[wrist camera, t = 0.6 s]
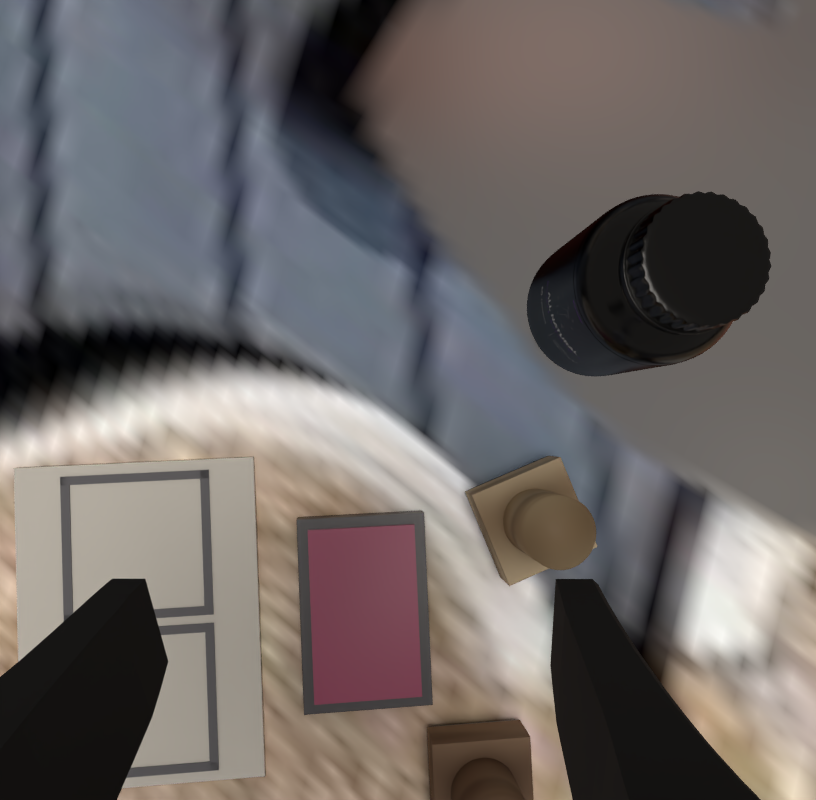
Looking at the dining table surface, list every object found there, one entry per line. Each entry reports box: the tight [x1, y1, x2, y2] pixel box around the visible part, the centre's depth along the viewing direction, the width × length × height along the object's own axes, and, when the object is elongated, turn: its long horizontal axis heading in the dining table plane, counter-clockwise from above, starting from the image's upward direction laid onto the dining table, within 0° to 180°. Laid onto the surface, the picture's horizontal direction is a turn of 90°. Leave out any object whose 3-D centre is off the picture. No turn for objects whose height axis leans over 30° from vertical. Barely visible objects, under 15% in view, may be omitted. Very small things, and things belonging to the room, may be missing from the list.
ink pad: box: [297, 511, 433, 715], centre depth 35 cm, size 9×6×1 cm, turn 2°
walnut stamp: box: [427, 720, 533, 800], centre depth 33 cm, size 4×4×6 cm
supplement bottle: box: [527, 192, 771, 376], centre depth 31 cm, size 7×7×12 cm
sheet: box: [14, 457, 265, 788], centre depth 35 cm, size 15×11×1 cm
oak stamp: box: [465, 456, 597, 586], centre depth 33 cm, size 4×4×6 cm
